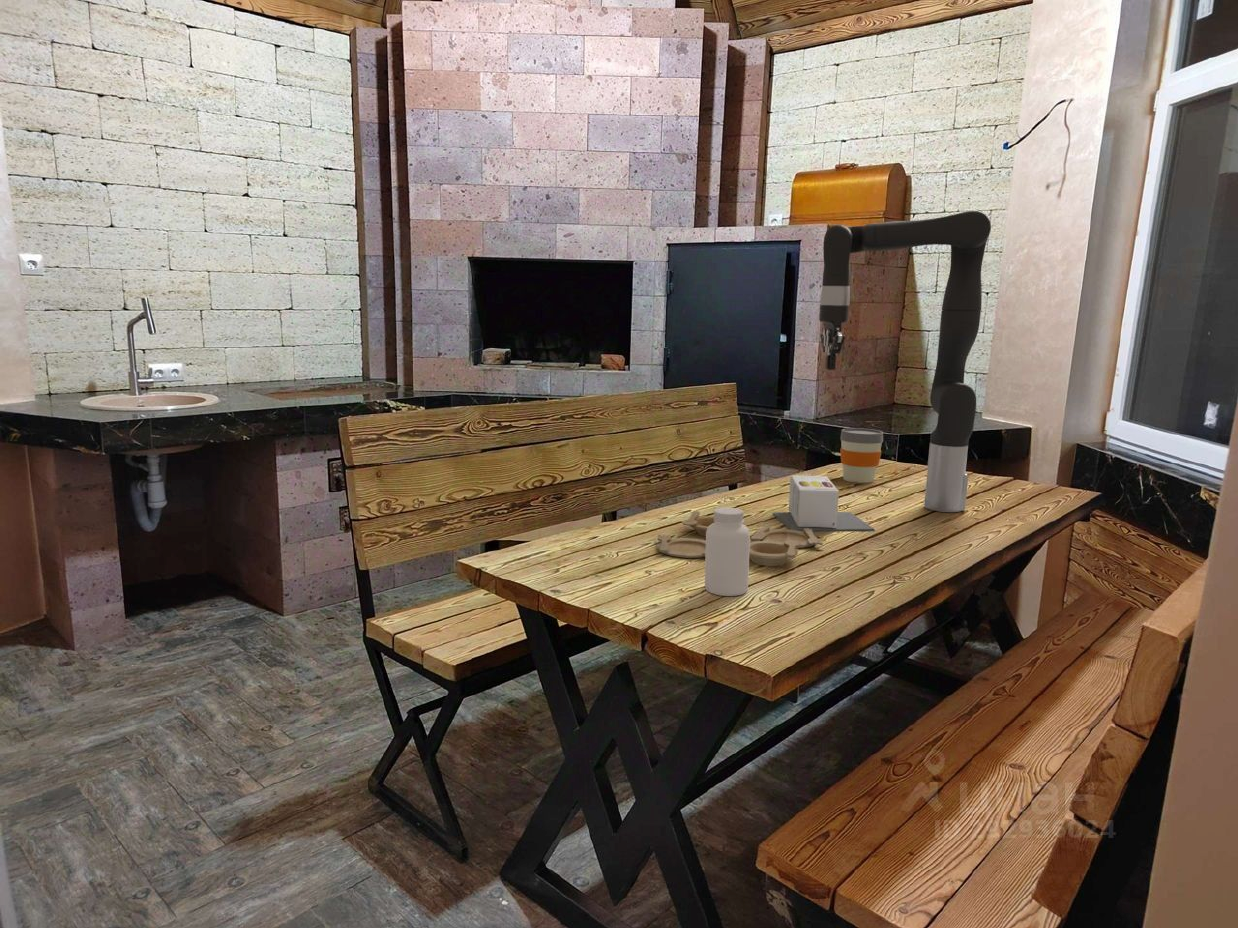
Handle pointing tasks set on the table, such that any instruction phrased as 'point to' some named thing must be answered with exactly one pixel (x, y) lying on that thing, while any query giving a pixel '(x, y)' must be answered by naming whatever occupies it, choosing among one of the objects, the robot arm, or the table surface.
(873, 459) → the reusable coffee cup
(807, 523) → the supplement box
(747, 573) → the pill bottle
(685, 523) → the tableware set
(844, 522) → the mat
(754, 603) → the table surface
